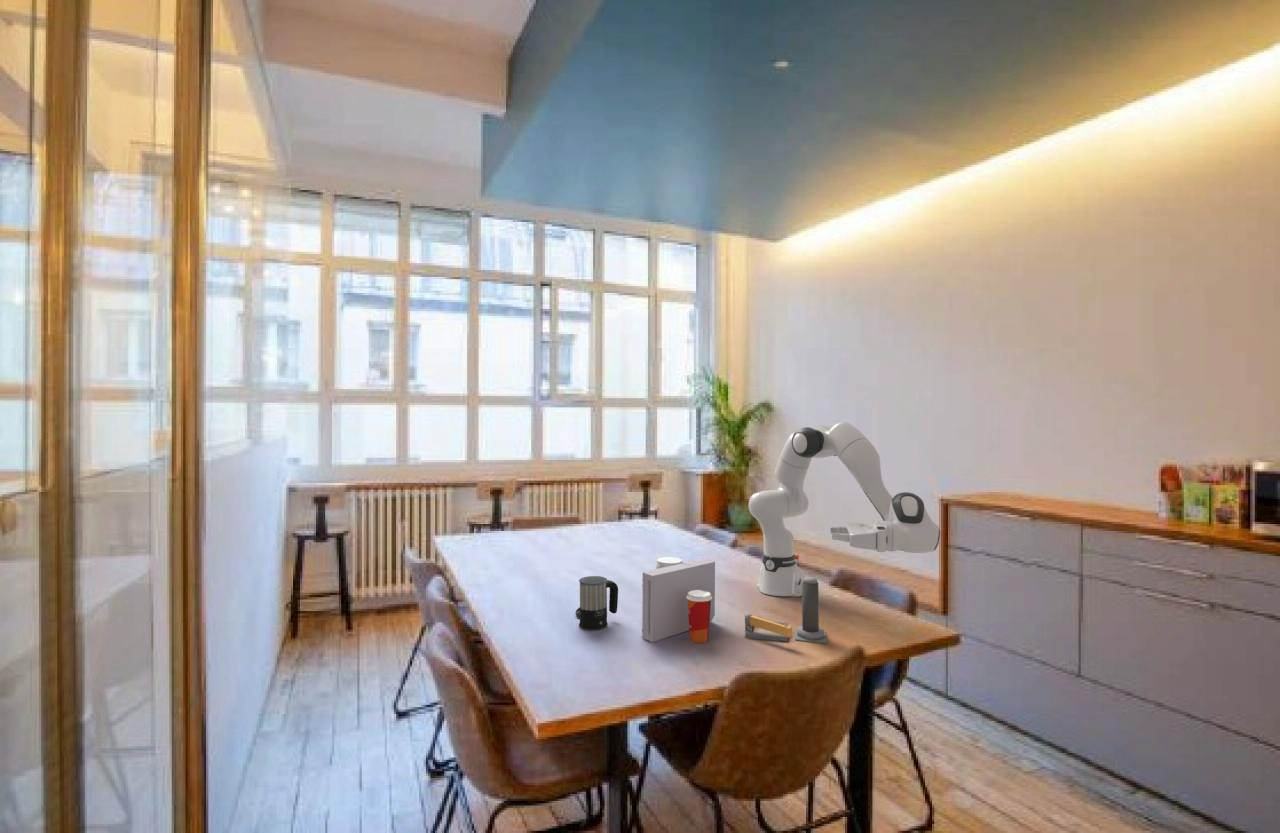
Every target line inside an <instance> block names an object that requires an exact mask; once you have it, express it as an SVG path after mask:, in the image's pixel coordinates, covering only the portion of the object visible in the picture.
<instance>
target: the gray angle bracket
mask: <svg viewBox="0 0 1280 833" xmlns="http://www.w3.org/2000/svg"><path fill="white" fill-rule="evenodd" d="M774 622H775V623H778V624H782V625H785V626H786V625H787V626H789V622H782V621H774ZM752 628H754V626H752ZM744 638H747V639H748V638H749V639H754V640H755V639H757V640H758V639H759V640H764V641H765V640H768V641H776V642H777V641H778V642H788V639H789V637H785V636H783V635H780V634H777V633H767V632H758V631H752V632H751V631H745V630H744Z"/></svg>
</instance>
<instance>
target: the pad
mask: <svg viewBox="0 0 1280 833" xmlns="http://www.w3.org/2000/svg"><path fill="white" fill-rule="evenodd" d="M794 630H795V631H794V633H795V634H794V635H795V636H794V637H795V638H794V640H795V641H798V642H807V643H809V642H810V643H819V644H827V635H826V631H825V630H824V638H822V639H818V640H810V639H804V638H801V637H799V636H798V635H797V628H795V629H794Z"/></svg>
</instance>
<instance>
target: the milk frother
mask: <svg viewBox="0 0 1280 833" xmlns="http://www.w3.org/2000/svg"><path fill="white" fill-rule="evenodd" d="M578 582H579V607H578V608H577V609H576V610H575V616H576V617H578V619H579V624H578V627H579V628H580V629H582V630H586V631H598V630H604V629H605V628H607V627H608V619H607V618H608V611H609V612H610V613H611V614H613V615H614V614H617V612H618V603H619V601H618V599H619V587H618V584H617V583H616V582H614V581H612V580H609V579H608V578H607V577H604V576H598V575H589V576H584V577H581V578H579V579H578ZM608 588H609V596H608V595H607V592H608V591H607V590H608ZM608 597H609V598H608ZM607 599H609V600H607ZM608 601H609V602H608Z"/></svg>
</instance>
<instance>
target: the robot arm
mask: <svg viewBox="0 0 1280 833" xmlns="http://www.w3.org/2000/svg"><path fill="white" fill-rule="evenodd" d="M832 456H833V457H838V459H839V460H840V461H841V463H842V464H843V465H844V466H845V467H846V469H848V472H850V474H851V475H852V476H853V478H854V479H855V481H856V482H857V483H858V484H859V486H860V488H861V490H862V491H863V492H864V495H866V497H867V498H868V500H869V501H870V503H871V504H872V505H873V507H874V508H875V510H876V512H877V513H878V514H879V515H880V517H881V519H882V520H873V522H872V524H868V523H858V522H846V523H845V524H844V525H845V526H831V527H830V534H831V539H832V540H833V541H841V542H844V543H845V542H846V543H848V544H849V546H850V547H852V548H856V549H861V550H862V549H863V550H872V551H876V552H877V553H885V552H897V551H898V552H899V551H900V552H905V553H907V554H908V553H913V554H915V553H916V554H922V553H923V554H924V553H925V554H926V553H932V552H934V551H936V550H937V548H938V546H939V543H940V537H941V531H940V527H939V525H938V524H936V523H935V522H934V521H933V520H932V518H931V517H930V515H929V513H928V511H927V509H926V507H925V504H924V501H923V500H922V498H921V497H919V496H918V495H917V494H915V493H911V492H908V491H907V492H905V491H903V492H900V493H897V494H896V495H893V496H892V495H891V494H890V492H889V491H888V489H887V488H886V486H885V484H884V482H883V478H882V471H881V457H880V454H879V452H878V451H877V449H876V448H875V446H874V444H872V442H871V441H870V440H869V438H867V437H866V436H865V434H863V433H862V432H861V431H860V430H859V429H858V428H857V427H855V426H854V425H852V424H851V423H850V422H847V421H840V422H838V423H835V424H834V425H831V426H827V425H818V426H812V427H808V426H807V427H802V428H800V429H797V430H796V431H794V432H792V433H791V434H790V435H789V437H787V440H786V442H785V444H784V446H783V448H782V451H781V453H780V455H779V458H778V460H777V464H776V466H775V470H774V476H775V479H776V480H777V482H778V483H779V486H778V488H777V489H770V490H761V491H758V492H755V493H753V494H752V495H750V497H749V500H748V510H749V512H750V515H751V516H752V517H753V518H755V519H756V520H757V522H758V523H759V526H760V527H761V530H762V531H761V532H762V537H763V538H762V539H763V553H762V557H761V558H762V565H761V566H760V568H759V570H760V571H759V578H758V579H759V581H758V583H756V587H757V588H758V591H759V592H761V593H763V594H765V595H769V596H774V597H797V598H798V597H801V596H802V582H803V579H804V578H806V573H805V572H804V571H803V569H801V567H799V566H798V565H797V562H796V560H797V561H798V560H799V559H800V554H798V553H796V554H795V553H794V535H793V533H792V532H791V531H790V530H789V529H787V528H786V527H785V525H784V519H787V518H795V517H798V516H802V515H803V514H805V513H806V512H807V511H808V508H809V502H810V501H809V498H808V496H807V494H806V493H805V492H804V483H805V478H806V476H807V473H808V470H809V467H810V465H811V462H812V459H814V458H815V459H817V458H818V459H820V458H821V459H824V458H827V457H832Z"/></svg>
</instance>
